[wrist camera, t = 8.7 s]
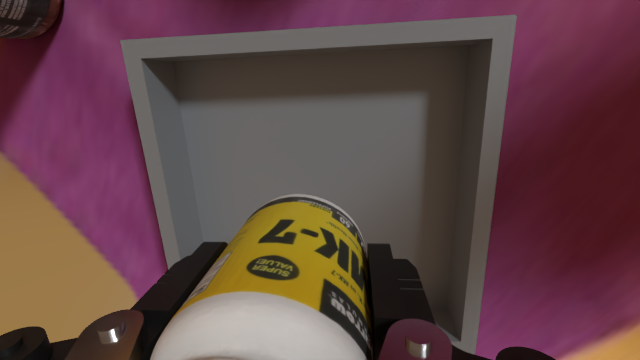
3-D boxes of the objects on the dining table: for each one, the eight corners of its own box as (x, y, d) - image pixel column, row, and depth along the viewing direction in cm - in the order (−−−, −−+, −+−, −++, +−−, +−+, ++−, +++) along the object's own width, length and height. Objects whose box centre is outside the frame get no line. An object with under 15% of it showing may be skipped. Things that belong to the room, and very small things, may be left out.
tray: (482, 28, 16) (516, 14, 12) (455, 310, 21) (475, 354, 17) (164, 47, 18) (119, 40, 14) (208, 303, 22) (183, 342, 19)
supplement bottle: (391, 235, 12) (476, 563, 4) (321, 320, 13) (278, 688, 5) (280, 165, 11) (116, 368, 3) (221, 259, 13) (5, 561, 5)
